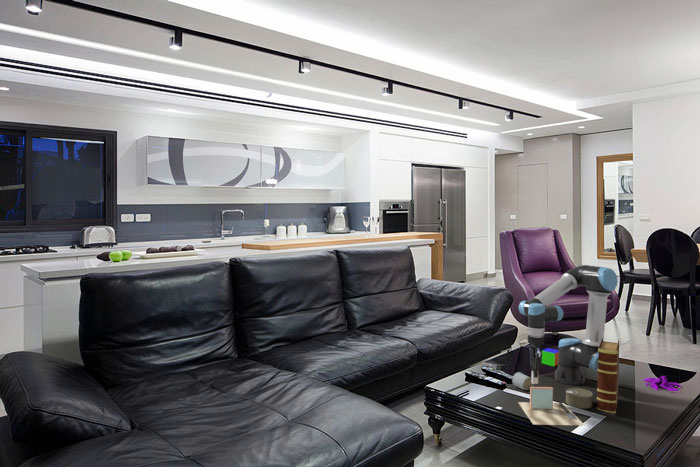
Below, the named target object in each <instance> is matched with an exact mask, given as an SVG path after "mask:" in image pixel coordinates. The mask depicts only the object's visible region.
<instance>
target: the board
mask: <svg viewBox="0 0 700 467" xmlns="http://www.w3.org/2000/svg"><path fill="white" fill-rule="evenodd" d="M517 403H518V404H519V407H520V408H521V410H523V412H524V413H525V415H526V416H527V418H528V419H529V420H530V422H531V423H532V425H537V426H538V425H540V426H543V425H544V426H545V425H546V426H547V425H548V426H580V427H581V426H585V424H584V423H583V422H582V420H580V418H579V417H578V416H576V414H575V413H574V412H573V411H572V410H571V409H570V408H569V407H568V405H566V404H565V403H564V402H561V403H562V404H563V405H564V406H565V407H566V408H567V410H568V411H569V412H570V413H573V414H574V415H575V416H576V417H577V419H569V418H568V417H567V416H566V415H565V414H564V413H566V412H565V411H564V410H563V409H562V407H561V406H560V405H559V403H560V402H553V409H531V408H530V401H529V402H525V401H523V402H522V401H518V402H517Z"/></svg>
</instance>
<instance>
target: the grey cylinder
mask: <svg viewBox="0 0 700 467" xmlns="http://www.w3.org/2000/svg"><path fill="white" fill-rule="evenodd" d="M511 380H512V385H513V386H514V387H517V388H519V389H521V390H524V391H530V387H535V384H532V383H531V380H532V377H530V376H528V375H526V374H524V373H522V372H519V371H518V372H515V373H514V374H513V377H512V379H511Z"/></svg>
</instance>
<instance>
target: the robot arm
mask: <svg viewBox="0 0 700 467" xmlns="http://www.w3.org/2000/svg"><path fill="white" fill-rule="evenodd" d="M618 283H619V282H618V275H617V273H616V272H615V270H613V269H612V268H609V267H605V266H596V265H587V264H584V265H583V264H581V265H578V266H576V267H572V268H571V269H568V270H567V271H566V272H564V273H563V274H561V278H559V279H558V280H556V281H555V282H554V283H552V284H551V285H550V286H548V287H547V288H545V289H544V290H542V291H541V292H540V293H538V294H537V295H535V296H534V297H533V298H531V299H530V300H522V301H520V302H519V305H518V311H519V314H521V315H523V316H525V317H527V319H528V320H527V328H526V330H527V343H528V344H529V346H528V350H529V365H530V369H531V379H532V380H531V383H532V384H534V385H535V384H536V385H537V384H539V372H540V371H541V365H542V349H541V346H543V345H544V344H545V328H546V327H545V325H546V323H553V322H558V321H561V320H562V319H563V317H564V310H563V308H561V306H559V305H551V304H553V303H554V302H555V301H557V300H558V299H560V298H561V297H562V296H564V295H566V293H568V292H569V291H571V290H575V289H577V288H579V287H586V292H587V293H588V306H587V313H586V314H587V315H586V328H585V336H584V339H583V340H582V339H581V338H575V337H572V338H571V337H570V338H569V337H568V338H566V337H565V338H562V339H559V341H558V346H557V347H558V350H559V351H558V365H557V368H556V371H555V373H554V379H555V381H556V382H559V383H561V384H566V385H570V386H572V385H573V386H580V385H584V384H585V375H584V372H583V367H584V368H586V369H589V370H591V371H596V372H598V348H599V346H600V343H601V340H602V339H603V340H604V337H605V329H606V328H605V327H606V316H607V307H608V306H607V305H608V297H609V296H610V295H611V294H612V292H613V291H615V289H616V287H617V286H618Z"/></svg>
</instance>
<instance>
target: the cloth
mask: <svg viewBox="0 0 700 467" xmlns="http://www.w3.org/2000/svg"><path fill="white" fill-rule="evenodd" d="M642 381H643V382H645V386H646V387H647V386H651V387H650V388H651V389H652V388H654V389H656V390H655V391H659V390H658V389H659V388H660V387H661V388H660V389H663V390H666V389H667V390H669V391H680V390H679V388H678V389H677V387H682V385H681V384H679V383H678V382H669V381H668V378H667V376H666V375H661V376H660V377H659V378H657V377H647V378H644V379H643V380H642ZM673 386H677V387H673ZM654 389H653V390H654ZM667 390H666V391H667ZM669 391H668V392H669Z"/></svg>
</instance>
